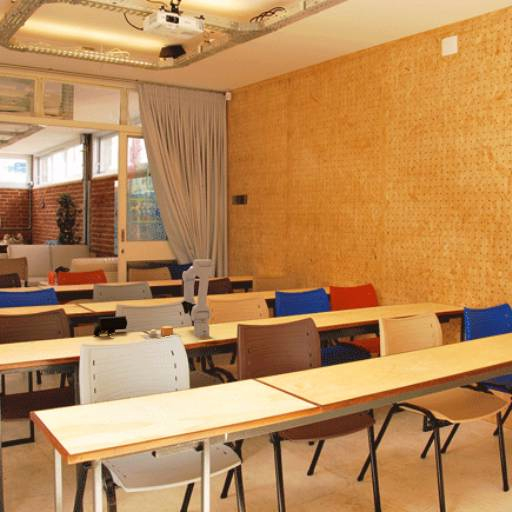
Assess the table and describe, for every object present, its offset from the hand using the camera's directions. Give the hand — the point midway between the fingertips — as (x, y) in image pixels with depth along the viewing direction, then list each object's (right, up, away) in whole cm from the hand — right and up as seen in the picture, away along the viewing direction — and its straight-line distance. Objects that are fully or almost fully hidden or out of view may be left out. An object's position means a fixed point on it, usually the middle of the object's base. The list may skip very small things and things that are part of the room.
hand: (188, 314), depth 375 cm
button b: (-17, -8, -23) cm, 30 cm away
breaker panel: (-14, -11, -21) cm, 27 cm away
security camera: (-43, -11, -13) cm, 46 cm away
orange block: (-10, -10, -19) cm, 24 cm away
